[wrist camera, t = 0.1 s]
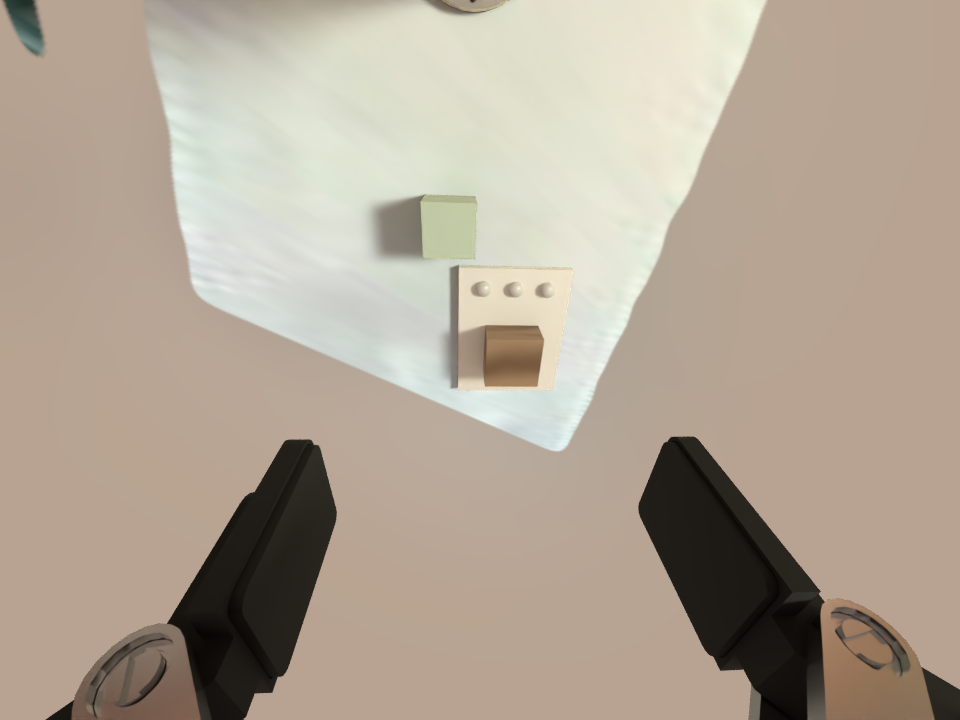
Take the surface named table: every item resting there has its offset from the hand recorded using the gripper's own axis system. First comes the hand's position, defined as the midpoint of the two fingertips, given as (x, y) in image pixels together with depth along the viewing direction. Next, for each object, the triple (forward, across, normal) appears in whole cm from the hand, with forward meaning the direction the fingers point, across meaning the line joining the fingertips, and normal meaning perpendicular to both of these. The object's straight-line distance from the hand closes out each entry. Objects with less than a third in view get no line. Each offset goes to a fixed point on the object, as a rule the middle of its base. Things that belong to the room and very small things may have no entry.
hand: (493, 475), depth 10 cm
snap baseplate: (+37, -6, +14) cm, 40 cm away
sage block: (+37, +2, 0) cm, 37 cm away
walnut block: (+36, -6, +16) cm, 39 cm away
